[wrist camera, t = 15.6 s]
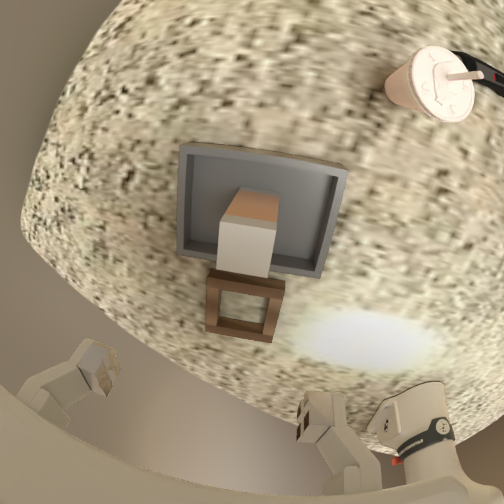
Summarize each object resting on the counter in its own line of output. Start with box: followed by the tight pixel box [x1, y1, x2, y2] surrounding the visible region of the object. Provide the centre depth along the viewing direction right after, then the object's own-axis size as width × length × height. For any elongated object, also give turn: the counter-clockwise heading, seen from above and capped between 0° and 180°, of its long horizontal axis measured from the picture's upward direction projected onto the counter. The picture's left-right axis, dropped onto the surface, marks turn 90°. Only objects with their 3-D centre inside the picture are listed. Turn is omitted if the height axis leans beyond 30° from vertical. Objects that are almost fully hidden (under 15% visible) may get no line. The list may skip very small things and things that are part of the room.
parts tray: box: [177, 142, 348, 279], centre depth 28 cm, size 12×16×4 cm
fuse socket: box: [205, 268, 285, 343], centre depth 35 cm, size 9×9×2 cm
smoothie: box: [384, 46, 484, 122], centre depth 15 cm, size 6×6×14 cm
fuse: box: [216, 186, 280, 278], centre depth 24 cm, size 4×4×10 cm
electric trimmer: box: [450, 51, 504, 97], centre depth 16 cm, size 4×16×3 cm, turn 93°
